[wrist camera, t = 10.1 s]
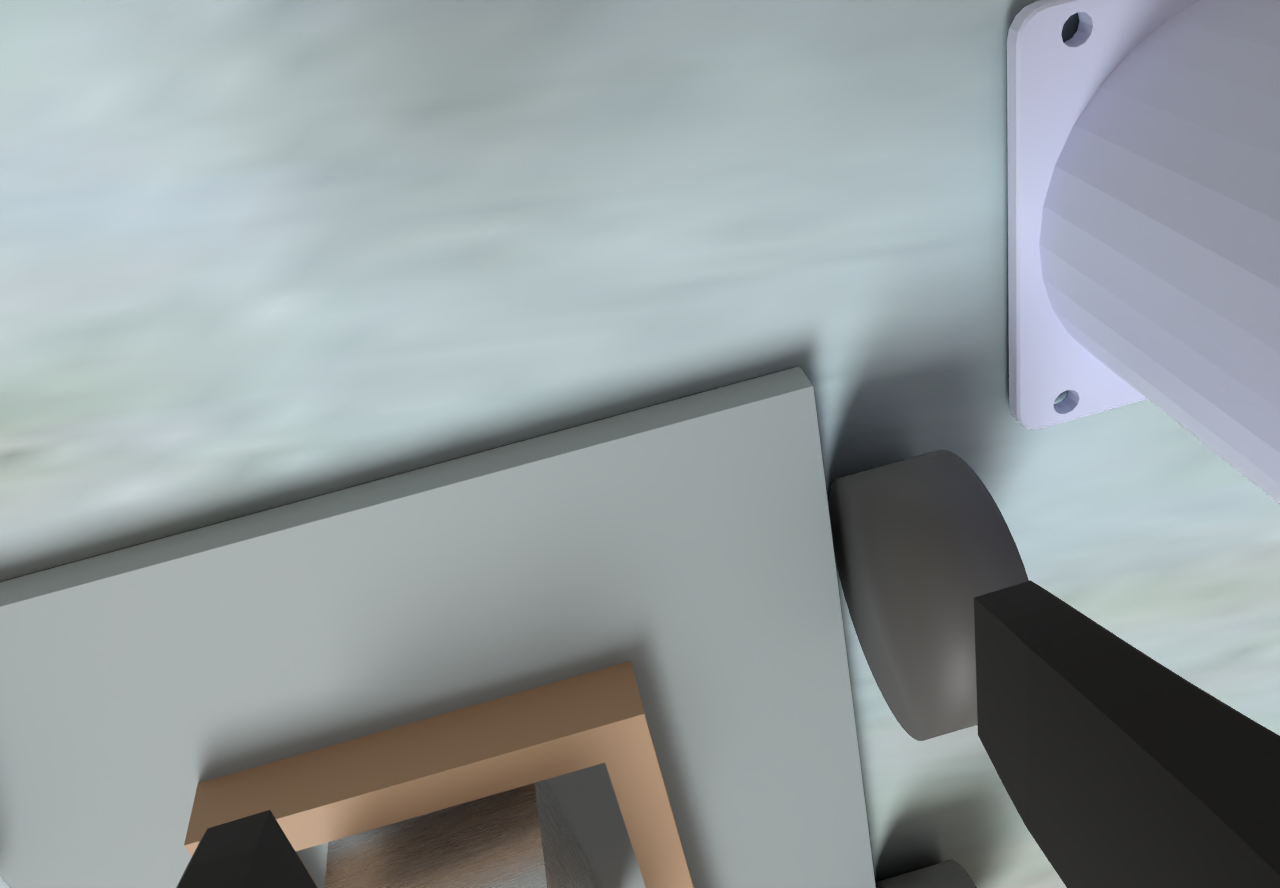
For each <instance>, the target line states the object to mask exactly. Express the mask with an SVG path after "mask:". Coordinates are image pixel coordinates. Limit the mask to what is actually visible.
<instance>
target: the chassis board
mask: <svg viewBox="0 0 1280 888" xmlns="http://www.w3.org/2000/svg"><path fill="white" fill-rule="evenodd" d="M834 554H835V557H834ZM835 559H836V564H837V568H838V573H839V577H840V581H841V585H842V588H843V592H844V596H845V599H846V603H847V606H848V609H849V613H850V616H851V619H852V622H853V625H854V628H855V631H856V634H857V636H858V639H859V642H860V645H861V647H862V650H863V652H864V655H865V657H866V660H867V662H868V665H869V667H870V669H871V672H872V674H873V676H874V678H875V681H876V683H877V685H878V687H879V689H880V691H881V693H882V695H883V697H884V699H885V701H886V702H887V704H888V706H889V708H890V710H891V711H892V713H893V714H894V716H895V718H896V719H897V721H898V722H899V723H900V725H901V726H902V727H903V729H904V730H905V731H906V732H907V733H908V734H909V735H910V736H911V737H913V738H914V739H916V740H918V741H923V740H926V739H930V738H933V737H937V736H940V735H944V734H947V733H951V732H954V731H957V730H961V729H964V728H968V727H971V726H975V725H978V718H977V687H976V655H975V623H974V597H977V596H981V595H984V594H987V593H991V592H994V591H997V590H1001V589H1004V588H1007V587H1011V586H1014V585H1017V584H1020V583H1024V582H1027V581H1029V580H1028V577H1027V574H1026V571H1025V568H1024V565H1023V562H1022V560H1021V557H1020V554H1019V552H1018V549H1017V547H1016V544H1015V542H1014V540H1013V537H1012V535H1011V533H1010V530H1009V528H1008V526H1007V524H1006V522H1005V520H1004V518H1003V516H1002V514H1001V512H1000V510H999V508H998V507H997V505H996V503H995V501H994V500H993V498H992V496H991V495H990V493H989V492H988V490H987V489H986V487H985V486H984V484H983V483H982V481H981V480H980V479H979V477H978V476H977V475H976V473H975V472H974V471H973V470H972V469H971V468H970V467H969V466H968V465H967V463H966V462H964V461H963V460H962V459H961V458H960V457H958V456H957V455H955V454H953V453H952V452H949V451H946V450H938V451H934V452H931V453H927V454H924V455H920V456H916V457H913V458H909V459H906V460H902V461H898V462H895V463H891V464H887V465H884V466H880V467H877V468H873V469H869V470H866V471H862V472H859V473H855V474H851V475H848V476H844V477H840V478H837V479H836V480H834V482H833V483H832V486H831V489H830V495H829V508H828V500H827V492H826V484H825V476H824V468H823V460H822V452H821V444H820V436H819V428H818V420H817V412H816V404H815V396H814V388H813V385H812V383H811V382H810V381H809V379H808V378H807V376H806V375H805V373H804V372H803V371H802V369H801V368H800V366H798V367H795V368H791V369H787V370H784V371H780V372H776V373H772V374H769V375H765V376H761V377H758V378H754V379H750V380H747V381H743V382H739V383H735V384H732V385H728V386H724V387H721V388H717V389H713V390H710V391H706V392H702V393H698V394H695V395H691V396H687V397H684V398H680V399H676V400H673V401H669V402H665V403H661V404H658V405H654V406H650V407H647V408H643V409H639V410H636V411H632V412H628V413H624V414H621V415H617V416H613V417H610V418H606V419H602V420H599V421H595V422H591V423H588V424H584V425H580V426H576V427H573V428H569V429H565V430H562V431H558V432H554V433H551V434H547V435H543V436H539V437H536V438H532V439H528V440H525V441H521V442H517V443H514V444H510V445H506V446H502V447H499V448H495V449H491V450H488V451H484V452H480V453H477V454H473V455H469V456H465V457H462V458H458V459H454V460H451V461H447V462H443V463H440V464H436V465H432V466H428V467H425V468H421V469H417V470H414V471H410V472H406V473H403V474H399V475H395V476H391V477H388V478H384V479H380V480H377V481H373V482H369V483H366V484H362V485H358V486H354V487H351V488H347V489H343V490H340V491H336V492H332V493H329V494H325V495H321V496H318V497H314V498H310V499H306V500H303V501H299V502H295V503H292V504H288V505H284V506H281V507H277V508H273V509H269V510H266V511H262V512H258V513H255V514H251V515H247V516H244V517H240V518H236V519H232V520H229V521H225V522H221V523H218V524H214V525H210V526H207V527H203V528H199V529H195V530H192V531H188V532H184V533H181V534H177V535H173V536H170V537H166V538H162V539H158V540H155V541H151V542H147V543H144V544H140V545H136V546H133V547H129V548H125V549H121V550H118V551H114V552H110V553H107V554H103V555H99V556H96V557H92V558H88V559H84V560H81V561H77V562H73V563H70V564H66V565H62V566H59V567H55V568H51V569H47V570H44V571H40V572H36V573H33V574H29V575H25V576H22V577H18V578H14V579H11V580H7V581H3V582H0V877H1V878H2V879H3V880H4V881H5V882H6V884H7V885H8V886H9V887H10V888H176V887H177V885H178V883H179V881H180V879H181V877H182V875H183V873H184V871H185V869H186V867H187V865H188V863H189V862H190V860H191V858H192V856H193V854H194V852H195V850H196V848H197V846H198V844H199V842H200V840H201V839H202V837H203V835H204V834H205V832H206V830H207V829H208V828H211V827H214V826H217V825H221V824H224V823H227V822H231V821H234V820H237V819H241V818H244V817H247V816H251V815H254V814H257V813H261V812H264V811H267V810H270V811H271V812H272V814H273V816H274V817H275V819H276V820H277V822H278V824H279V825H280V827H281V829H282V830H283V832H284V834H285V835H286V837H287V839H288V840H289V842H290V843H291V845H292V847H293V848H294V850H295V852H296V853H297V855H298V857H299V858H300V860H301V861H302V863H303V865H304V866H305V868H306V870H307V871H308V873H309V875H310V876H311V878H312V880H313V881H314V883H315V884H316V886H317V888H325V876H326V864H327V851H328V842H331V841H334V840H338V839H341V838H344V837H348V836H351V835H355V834H358V833H362V832H365V831H369V830H372V829H376V828H379V827H383V826H386V825H390V824H393V823H397V822H400V821H404V820H407V819H410V818H414V817H417V816H421V815H424V814H428V813H431V812H435V811H438V810H442V809H445V808H449V807H452V806H456V805H459V804H463V803H466V802H470V801H473V800H477V799H480V798H483V797H487V796H490V795H494V794H497V793H501V792H504V791H508V790H511V789H515V788H518V787H522V786H525V785H529V784H532V783H536V782H539V781H543V780H546V781H547V783H548V785H549V787H550V788H551V790H552V792H553V794H554V796H555V798H556V800H557V802H558V803H559V805H560V807H561V809H562V811H563V813H564V815H565V817H566V819H567V820H568V822H569V824H570V826H571V828H572V830H573V832H574V834H575V836H576V837H577V839H578V841H579V843H580V845H581V847H582V849H583V851H584V853H585V854H586V856H587V858H588V860H589V862H590V864H591V866H592V868H593V870H594V871H595V873H596V875H597V877H598V879H599V881H600V883H601V885H602V887H603V888H977V887H976V886H975V884H974V882H973V881H972V879H971V878H970V877H969V875H968V874H967V873H966V871H965V870H964V869H963V868H962V867H961V866H960V864H958V863H957V862H956V861H954V860H949V861H945V862H942V863H939V864H935V865H932V866H929V867H925V868H922V869H919V870H915V871H912V872H909V873H905V874H902V875H898V876H895V877H892V878H888V879H885V880H882V881H878V882H877V884H876V886H875V878H874V870H873V862H872V854H871V846H870V838H869V830H868V822H867V814H866V806H865V798H864V790H863V782H862V774H861V766H860V757H859V749H858V741H857V733H856V725H855V717H854V709H853V701H852V693H851V685H850V677H849V669H848V661H847V653H846V645H845V637H844V629H843V621H842V613H841V605H840V597H839V589H838V581H837V573H836V565H835Z"/></svg>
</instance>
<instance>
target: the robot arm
mask: <svg viewBox="0 0 1280 888" xmlns="http://www.w3.org/2000/svg"><path fill="white" fill-rule="evenodd" d="M1075 13H1078V16H1079V21H1080V22H1079V26H1078V30H1077V32H1076V33H1075V34H1074V36H1073V37H1072V38H1071V39H1069V40H1068V41H1066V42H1064V43H1063V40H1062V35H1061V33H1062V29H1063V25H1064V23H1065V22H1066V21H1067V19H1068V18H1069V17H1070V16H1071V15H1073V14H1075ZM1007 130H1008V293H1009V408H1010V412H1011V415H1012V416H1013V417H1014V418H1015V419H1016V420H1017V421H1018V422H1019V423H1020V424H1021V425H1022V426H1023V427H1024V428H1028V429H1031V430H1034V429H1042V428H1045V427H1049V426H1052V425H1056V424H1060V423H1063V422H1067V421H1071V420H1074V419H1078V418H1081V417H1085V416H1089V415H1092V414H1096V413H1099V412H1103V411H1107V410H1110V409H1114V408H1117V407H1121V406H1125V405H1128V404H1132V403H1135V402H1139V401H1143V400H1146V399H1148V400H1149V401H1150V402H1152V403H1153V404H1154V405H1155V406H1157V407H1158V408H1159V409H1160V410H1162V411H1163V412H1164V413H1166V414H1167V415H1168V416H1169V417H1171V418H1172V419H1173V420H1174V421H1176V422H1177V423H1178V424H1179V425H1181V426H1182V427H1183V428H1184V429H1186V430H1187V431H1188V432H1189V433H1191V434H1192V435H1193V436H1194V437H1196V438H1197V439H1198V440H1199V441H1201V442H1202V443H1203V444H1204V445H1206V446H1207V447H1208V448H1209V449H1211V450H1212V451H1213V452H1214V453H1216V454H1217V455H1218V456H1219V457H1221V458H1222V459H1223V460H1225V461H1226V462H1227V463H1228V464H1230V465H1231V466H1232V467H1233V468H1235V469H1236V470H1237V471H1238V472H1240V473H1241V474H1242V475H1243V476H1245V477H1246V478H1247V479H1248V480H1250V481H1251V482H1252V483H1253V484H1255V485H1256V486H1257V487H1258V488H1260V489H1261V490H1262V491H1263V492H1265V493H1266V494H1267V495H1268V496H1270V497H1271V498H1272V499H1273V500H1275V501H1276V502H1277V503H1278V504H1280V0H1039V1H1036V2H1034V3H1031V4H1029V5H1027V6H1025V7H1024V8H1023V9H1022V10H1021V11H1020V12H1019V13H1018V14H1017V15H1016V16H1015V18H1014V20H1013V22H1012V24H1011V26H1010V28H1009V32H1008V38H1007ZM1066 390H1068V393H1067V395H1066V397H1065V398H1064V399H1063V400H1062V401H1060V402H1058V403H1056V404H1054V402H1055V399H1056V398H1057V397H1058V396H1059V394H1060V393H1062V392H1064V391H1066ZM974 623H975V655H976V687H977V718H978V736H979V738H980V740H981V742H982V744H983V745H984V747H985V749H986V751H987V753H988V755H989V757H990V759H991V761H992V763H993V765H994V767H995V769H996V771H997V773H998V775H999V777H1000V779H1001V781H1002V783H1003V785H1004V787H1005V788H1006V790H1007V792H1008V794H1009V796H1010V798H1011V800H1012V801H1013V803H1014V805H1015V807H1016V809H1017V811H1018V813H1019V814H1020V816H1021V818H1022V820H1023V822H1024V824H1025V826H1026V827H1027V829H1028V830H1029V832H1030V833H1031V835H1032V836H1033V838H1034V839H1035V841H1036V842H1037V844H1038V845H1039V847H1040V848H1041V850H1042V851H1043V853H1044V854H1045V856H1046V857H1047V859H1048V860H1049V862H1050V863H1051V865H1052V866H1053V868H1054V869H1055V871H1056V872H1057V873H1058V875H1059V876H1060V878H1061V879H1062V881H1063V882H1064V884H1065V885H1066V887H1067V888H1280V736H1279V735H1277V734H1275V733H1274V732H1272V731H1270V730H1269V729H1267V728H1265V727H1263V726H1262V725H1260V724H1258V723H1256V722H1255V721H1253V720H1251V719H1250V718H1248V717H1246V716H1245V715H1243V714H1241V713H1240V712H1238V711H1236V710H1235V709H1233V708H1231V707H1230V706H1228V705H1226V704H1225V703H1223V702H1221V701H1220V700H1218V699H1216V698H1215V697H1213V696H1211V695H1210V694H1208V693H1206V692H1205V691H1203V690H1201V689H1200V688H1198V687H1196V686H1195V685H1193V684H1191V683H1190V682H1188V681H1187V680H1185V679H1183V678H1182V677H1180V676H1179V675H1177V674H1175V673H1174V672H1172V671H1171V670H1169V669H1167V668H1166V667H1164V666H1163V665H1161V664H1159V663H1158V662H1156V661H1155V660H1153V659H1152V658H1150V657H1148V656H1147V655H1145V654H1144V653H1142V652H1141V651H1139V650H1137V649H1136V648H1134V647H1133V646H1131V645H1130V644H1128V643H1127V642H1125V641H1123V640H1122V639H1120V638H1119V637H1117V636H1116V635H1114V634H1113V633H1111V632H1110V631H1108V630H1106V629H1105V628H1103V627H1102V626H1100V625H1099V624H1097V623H1096V622H1094V621H1093V620H1091V619H1090V618H1088V617H1087V616H1085V615H1084V614H1082V613H1080V612H1079V611H1077V610H1076V609H1074V608H1073V607H1071V606H1070V605H1068V604H1067V603H1065V602H1064V601H1062V600H1061V599H1059V598H1057V597H1056V596H1054V595H1053V594H1051V593H1050V592H1048V591H1047V590H1045V589H1043V588H1042V587H1040V586H1039V585H1037V584H1035V583H1034V582H1032V581H1027V582H1024V583H1020V584H1017V585H1014V586H1011V587H1007V588H1004V589H1001V590H997V591H994V592H991V593H987V594H984V595H981V596H977V597H974ZM176 888H317V886H316V884H315V883H314V881H313V880H312V878H311V876H310V875H309V873H308V871H307V870H306V868H305V866H304V865H303V863H302V861H301V860H300V858H299V857H298V855H297V853H296V852H295V850H294V848H293V847H292V845H291V843H290V842H289V840H288V839H287V837H286V835H285V834H284V832H283V830H282V829H281V827H280V825H279V824H278V822H277V820H276V819H275V817H274V816H273V814H272V812H271V811H270V810H267V811H264V812H261V813H257V814H254V815H251V816H247V817H244V818H241V819H237V820H234V821H231V822H227V823H224V824H221V825H217V826H214V827H211V828H208V829H207V830H206V832H205V834H204V835H203V837H202V839H201V840H200V842H199V844H198V846H197V848H196V850H195V852H194V854H193V856H192V858H191V860H190V862H189V863H188V865H187V867H186V869H185V871H184V873H183V875H182V877H181V879H180V881H179V883H178V885H177V887H176Z"/></svg>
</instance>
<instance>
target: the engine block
mask: <svg viewBox="0 0 1280 888" xmlns="http://www.w3.org/2000/svg"><path fill="white" fill-rule="evenodd" d="M325 888H603V887H602V885H601V883H600V881H599V879H598V877H597V875H596V873H595V871H594V870H593V868H592V866H591V864H590V862H589V860H588V858H587V856H586V854H585V853H584V851H583V849H582V847H581V845H580V843H579V841H578V839H577V837H576V836H575V834H574V832H573V830H572V828H571V826H570V824H569V822H568V820H567V819H566V817H565V815H564V813H563V811H562V809H561V807H560V805H559V803H558V802H557V800H556V798H555V796H554V794H553V792H552V790H551V788H550V787H549V785H548V783H547V781H546V780H543V781H539V782H536V783H532V784H529V785H525V786H522V787H518V788H515V789H511V790H508V791H504V792H501V793H497V794H494V795H490V796H487V797H483V798H480V799H477V800H473V801H470V802H466V803H463V804H459V805H456V806H452V807H449V808H445V809H442V810H438V811H435V812H431V813H428V814H424V815H421V816H417V817H414V818H410V819H407V820H404V821H400V822H397V823H393V824H390V825H386V826H383V827H379V828H376V829H372V830H369V831H365V832H362V833H358V834H355V835H351V836H348V837H344V838H341V839H338V840H334V841H331V842H328V851H327V864H326V876H325Z"/></svg>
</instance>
